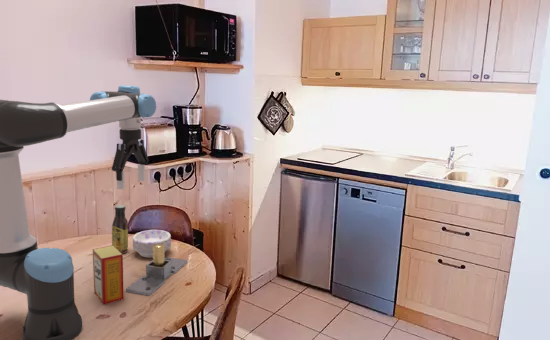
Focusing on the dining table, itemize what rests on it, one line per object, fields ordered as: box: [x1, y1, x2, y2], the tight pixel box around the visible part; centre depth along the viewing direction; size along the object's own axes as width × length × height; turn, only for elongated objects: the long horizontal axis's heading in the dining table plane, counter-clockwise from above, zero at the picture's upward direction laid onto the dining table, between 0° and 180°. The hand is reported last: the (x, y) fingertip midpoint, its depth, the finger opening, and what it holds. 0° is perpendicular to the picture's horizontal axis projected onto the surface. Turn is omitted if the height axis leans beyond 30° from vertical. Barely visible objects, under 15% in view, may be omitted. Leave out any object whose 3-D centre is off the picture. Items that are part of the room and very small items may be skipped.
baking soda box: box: [92, 244, 125, 306], centre depth 144 cm, size 10×6×16 cm
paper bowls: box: [132, 229, 172, 259], centre depth 181 cm, size 15×15×8 cm
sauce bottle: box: [111, 204, 129, 255], centre depth 180 cm, size 6×6×20 cm
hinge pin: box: [152, 243, 165, 267], centre depth 160 cm, size 4×4×12 cm
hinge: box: [125, 256, 189, 297], centre depth 161 cm, size 29×9×5 cm, turn 166°
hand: (131, 185), depth 164 cm, fingers open, 13 cm apart
